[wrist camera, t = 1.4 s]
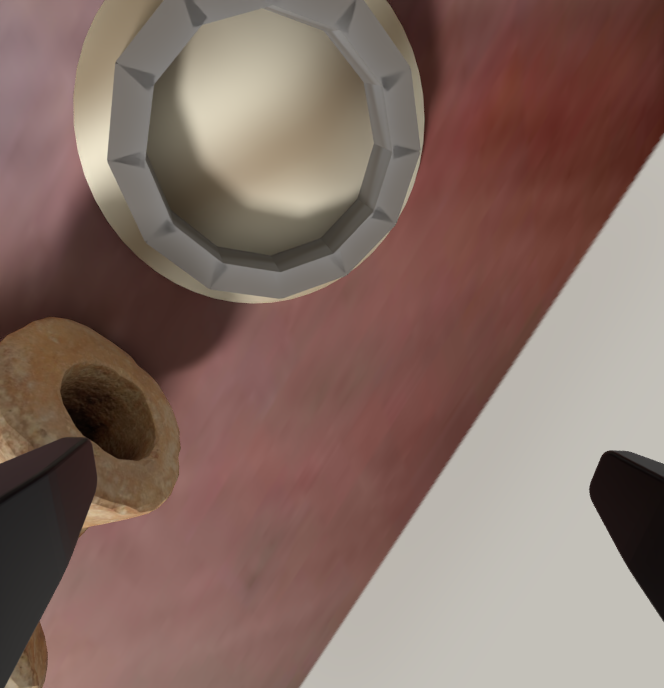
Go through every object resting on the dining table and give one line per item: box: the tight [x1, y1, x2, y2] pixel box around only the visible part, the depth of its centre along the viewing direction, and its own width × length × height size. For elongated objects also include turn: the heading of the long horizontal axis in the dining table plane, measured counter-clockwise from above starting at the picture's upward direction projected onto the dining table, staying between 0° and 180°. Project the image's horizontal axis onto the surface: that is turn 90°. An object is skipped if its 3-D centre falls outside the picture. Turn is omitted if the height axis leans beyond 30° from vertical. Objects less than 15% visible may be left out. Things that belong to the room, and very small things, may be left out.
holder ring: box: [73, 0, 425, 303], centre depth 20 cm, size 14×14×3 cm
